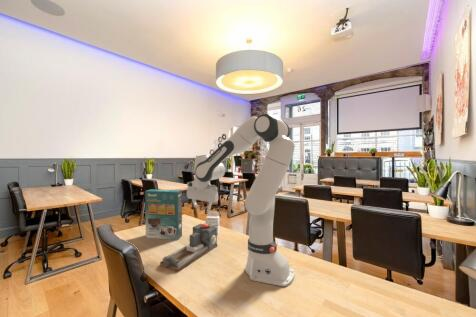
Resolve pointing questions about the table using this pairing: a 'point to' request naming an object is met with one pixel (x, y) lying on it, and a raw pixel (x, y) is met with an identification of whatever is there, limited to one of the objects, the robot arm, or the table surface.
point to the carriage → (194, 243)
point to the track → (185, 257)
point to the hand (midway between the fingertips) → (202, 208)
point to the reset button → (204, 225)
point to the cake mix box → (163, 214)
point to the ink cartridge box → (213, 219)
